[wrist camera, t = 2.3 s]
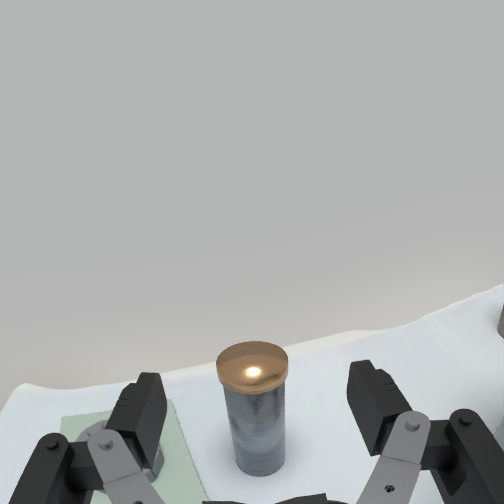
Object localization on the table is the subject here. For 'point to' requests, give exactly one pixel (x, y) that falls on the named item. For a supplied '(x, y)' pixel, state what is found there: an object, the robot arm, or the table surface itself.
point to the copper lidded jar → (255, 404)
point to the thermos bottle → (501, 324)
